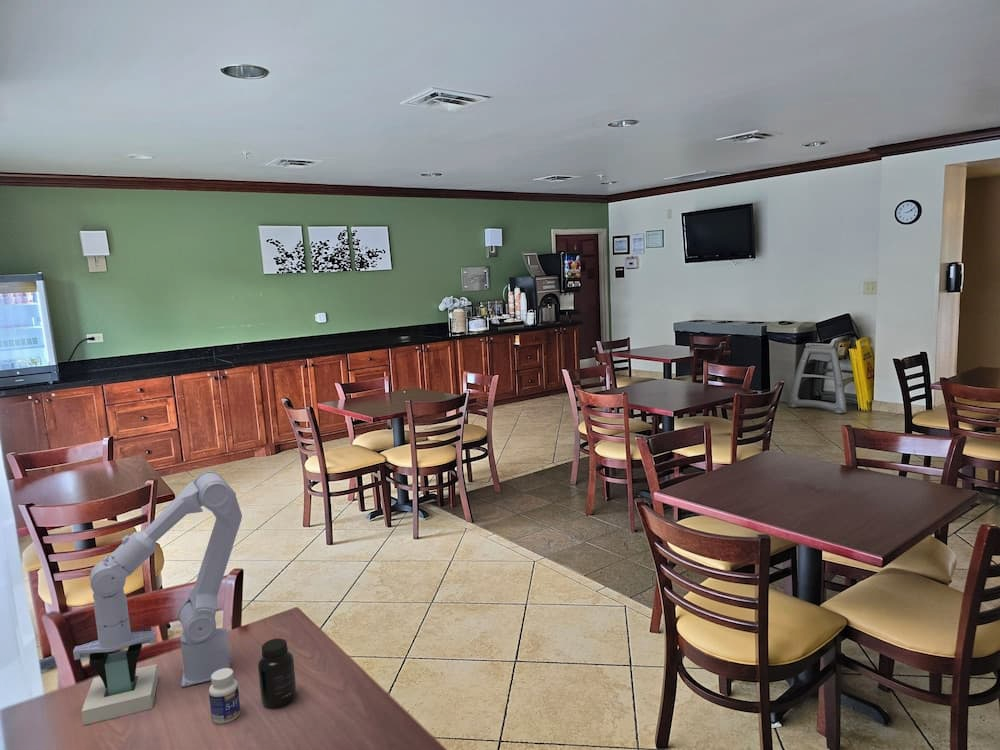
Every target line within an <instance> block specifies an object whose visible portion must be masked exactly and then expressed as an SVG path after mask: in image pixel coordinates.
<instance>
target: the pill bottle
mask: <svg viewBox="0 0 1000 750" xmlns="http://www.w3.org/2000/svg"><path fill="white" fill-rule="evenodd" d="M210 682H211V685H210V686H209V688H208V699H209V707H210V708H209V709H210V717H211V721H212V722H213V723H214V724H220V725H221V724H227V723H230V722H232V721H234V720H236V719H237V718H238V717H239V715H240V714H241V703H240V693H239V683H238V681H237V680H236V679H235V676H234V670H233V669H232V668H231V667H230V668H223V669H220V670H217V671H215V672H214V673H213V674H212V675H211V680H210Z"/></svg>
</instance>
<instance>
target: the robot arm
mask: <svg viewBox="0 0 1000 750" xmlns="http://www.w3.org/2000/svg"><path fill="white" fill-rule="evenodd" d="M203 507H204V508H205V509H207V510H208V511H210V512H212V513H213V516H214V518H215V521H214V525H213V528H212V532H211V534H210V537H209V539H208V542H207V543H208V544H207V546H206V550H205V551H204V552H205V553H204V555H203V559H202V562H201V564H200V569H199V571H198V574H197V578H196V581H195V584H194V586H193V589H192V590H190V592H189V593H188V596H187V599H186V600H185V601H184V603H183V604H181V606H180V608H179V610H178V613H177V616H178V617H177V618H178V620H179V623H180V625H181V627H182V633H181V635H180V637H179V639H180V640H179V641H180V646H181V647H180V648H181V656H182V657H181V658H182V666H183V670H182V671H183V672H182V677H181V678H182V679H181V687H182V688H185V687H189V686H193V685H197V684H202V683H205V682H209V681H210V682H211V675H212V674H213V673H214V672H215V671H217V670H220V669H223V668H230V669H231V662H232V656H231V655H232V654H231V652H230V647H229V646H230V645H229V638H228V637H229V636H228V629H226V628H222V629H220V628H219V629H218V628H217V621H216V614H217V610H218V594H219V592H220V589H221V584H222V582H223V578H224V575H225V572H226V569H227V566H228V563H229V560H230V557H231V553H232V550H233V547H234V544H235V541H236V538H237V535H238V532H239V528H240V525H241V522H242V520H243V514H242V511H241V508H240V504H239V502H238V497H237V494H236V492H235V490H234V489H233V488H232V487H231V486H230V485H229V484H228V482H227V481H226V480H225V479H224V478H223V476H222V475H220V474H219V473H217V471H205V472H202V473H200V474H199V475H197V477H196V478H195V479H194V481H191V482H189V483H188V484H187V485H186V486H185V487H184V488H183V489H182V490H181V491H180V492H179V493H178V495H177V496H176V497H175V498H174V499H173V500H172V501H170V503H169V504H168V505H167V506H166V507H165V509H163V510H162V512H160V513H159V515H157V517H155V519H153V521H152V522H150V524H149V525H148V526H147V527H145V529H144V530H140V531H134V532H133V533H132V534H131V535H127V534H125V536H124V537H122V539H121V544H120V545H118V547H117V548H116V549H115V550H113V551H112V553H110V554H109V555H105V556H104V557H103V558H102V561H100V562H98V563H97V564H95V565H94V566H93V567H92V569H91V571H90V575H89V580H90V581H89V582H90V588H91V590H92V592H93V593H92V597H93V600H94V601H93V610H94V616H95V617H94V618H95V624H96V625H95V626H96V631H97V640H93V641H90V642H87V643H83V644H81V645H75V646H74V648H73V651H72V654H73V659H74V661H77V660H80V659H82V658H84V657H85V658H86V657H89V661H88V663H89V666H90V667H91V668H92V669H93V670H94V671H95V672H96V673H97V674H98V675H99V676H98V677H101V679H102V681H103V683H104V685H105V688H108V686H107V679H106V671H105V662H106V659H107V656H108V654H109V653H111V652H116V651H119V650H122V649H127V650H126V651H127V653H126V656H127V660H128V665H129V673H130V680H131V682H134V681H135V677H136V669H137V665H138V660H139V657H140V654H141V652H142V647H143V645H146V644H149V645H153V644H157V643H156V642H157V639H158V638H157V632H156V629H154V630H147V631H146V630H145V631H131V623H130V615H129V610H128V609H129V608H128V600H127V594H126V593H125V591H124V590H125V589H124V587H125V584H126V580H127V579H126V578H127V577H128V578H129V576H131V575H132V574H133V573H134V572H135V571H136V570H138V568H139V567H140V566H141V565H142V564H143V563H145V561H146V560H148V559H149V557H151V556H152V554H154V552H155V551H156V550H157V547H156V546H157V545H156V543H157V542H158V541H159V540H160V539H161V538H162V537H163V536H164V535H165V534H167V533H168V532H169V530H171V529H172V528H173V527H175V525H177V523H179V522H180V521H181V520H182V519H183V518H184V517H186V515H189V514H196V513H203V512H204V510H203Z"/></svg>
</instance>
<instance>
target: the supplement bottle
mask: <svg viewBox="0 0 1000 750" xmlns="http://www.w3.org/2000/svg"><path fill="white" fill-rule="evenodd" d="M294 661H295V660H294V656H293V654H292V653H291V652H290V651H289V648H288V644H287V640H285V639H284V638H280V637H279V638H273V639H269V640H267V641H266V642H264V643H263V644H262V646H261V658H260V659H259V660H258V665H257V669H258V678H259V679H258V680H259V687H260V688H259V689H260V697H261V704H262V705H263V706H264V707H265V708H267V709H273V710H274V709H280V708H283V707H287V706H288V705H289V704H291V703H292V702H294V700H295V698H296V697H297V684H296V672H295V662H294Z"/></svg>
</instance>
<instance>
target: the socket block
mask: <svg viewBox="0 0 1000 750" xmlns="http://www.w3.org/2000/svg"><path fill="white" fill-rule="evenodd" d="M158 677H160V675H159V669H158V664H157V663H156V664H155V663H154V664H151V665H147V666H143V667H138V668H137V667H136V677H135V681H134V684H135V686H134V689H133V691H129V692H125V693H121V694H116V695H112V696H109V694H108V688H105V685H104V683H103V681H102V679H101V677H100V676H98V677H97V676H96V677H93V679H92V682H91V684H90V687H89V689H88V692H87V694H86V698H85V701H84V703H83V705H82V709H81V712H80V713H81V718H82V725H83V726H87V725H90V724H93V723H99V722H102V721H103V722H104V721H107V720H111V719H115V718H118V717H119V718H120V717H124V716H127V715H131V714H132V715H133V714H136V713H139V712H144V711H148V710H152V709H153V707H154V702H155V695H156V692H157V687H158V681H159V678H158Z"/></svg>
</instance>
